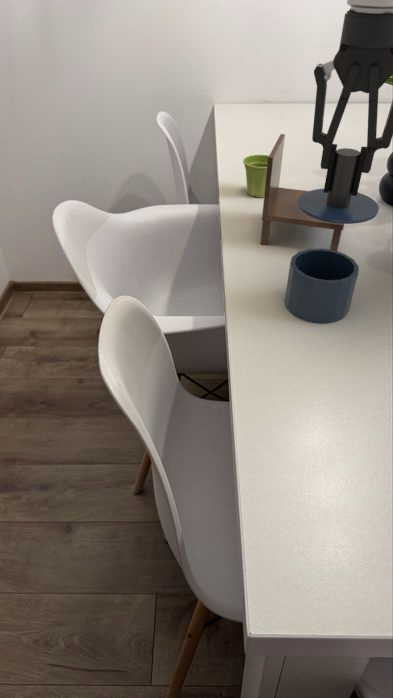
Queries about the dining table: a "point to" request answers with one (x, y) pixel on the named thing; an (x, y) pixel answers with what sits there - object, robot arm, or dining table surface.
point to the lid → (340, 194)
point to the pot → (320, 285)
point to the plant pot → (256, 174)
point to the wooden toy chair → (287, 201)
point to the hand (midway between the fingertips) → (340, 190)
